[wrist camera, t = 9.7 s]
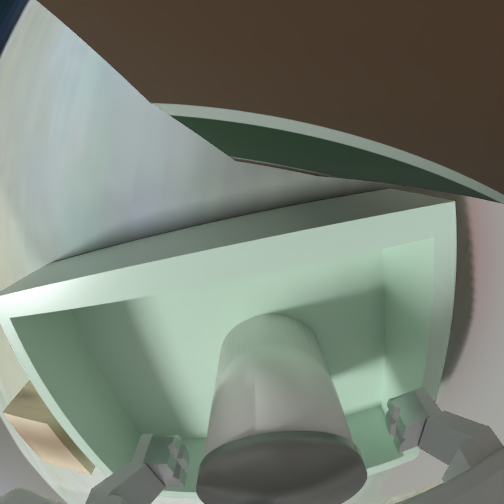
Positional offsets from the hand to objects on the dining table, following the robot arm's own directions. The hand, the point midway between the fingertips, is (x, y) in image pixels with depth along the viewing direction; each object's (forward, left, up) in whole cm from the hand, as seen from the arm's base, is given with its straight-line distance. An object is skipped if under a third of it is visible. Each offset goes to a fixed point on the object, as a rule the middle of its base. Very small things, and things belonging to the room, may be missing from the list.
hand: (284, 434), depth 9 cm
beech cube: (-3, +15, -6) cm, 16 cm away
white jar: (0, 0, -5) cm, 5 cm away
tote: (0, +2, -5) cm, 6 cm away
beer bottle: (+12, -3, -6) cm, 14 cm away
